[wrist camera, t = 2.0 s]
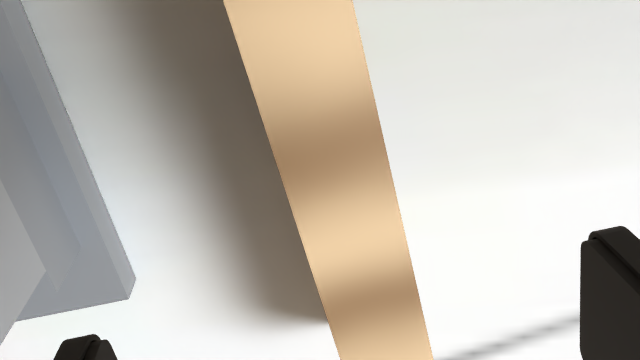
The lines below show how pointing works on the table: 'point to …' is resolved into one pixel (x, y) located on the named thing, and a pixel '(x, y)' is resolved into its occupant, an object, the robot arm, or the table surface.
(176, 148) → the table surface
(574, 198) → the table surface
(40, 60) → the fulcrum stand
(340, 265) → the tan long bar
